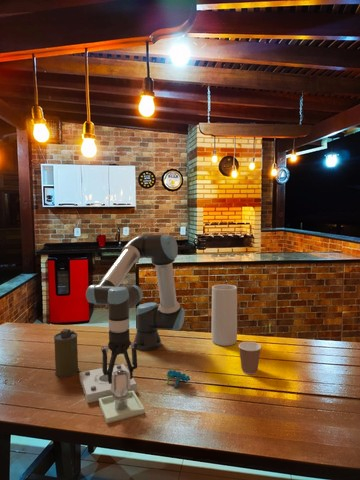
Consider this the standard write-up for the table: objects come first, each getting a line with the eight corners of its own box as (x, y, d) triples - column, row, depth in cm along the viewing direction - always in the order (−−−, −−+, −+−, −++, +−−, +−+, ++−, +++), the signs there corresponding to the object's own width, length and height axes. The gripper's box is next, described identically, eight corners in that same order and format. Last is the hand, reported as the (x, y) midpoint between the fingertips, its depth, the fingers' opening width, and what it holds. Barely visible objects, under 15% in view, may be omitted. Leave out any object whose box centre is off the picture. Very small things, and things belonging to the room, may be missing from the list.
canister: (71, 378, 153) (69, 334, 151) (50, 375, 155) (48, 333, 153) (83, 367, 164) (81, 326, 162) (63, 365, 166) (61, 325, 164)
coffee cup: (262, 368, 161) (263, 343, 160) (258, 378, 152) (258, 351, 151) (241, 364, 165) (241, 340, 164) (235, 373, 156) (235, 348, 155)
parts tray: (133, 395, 139) (133, 390, 138) (144, 413, 126) (144, 408, 126) (98, 403, 133) (98, 398, 133) (106, 423, 120) (106, 418, 120)
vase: (238, 346, 186) (239, 289, 183) (212, 346, 187) (212, 290, 184) (234, 336, 201) (235, 284, 198) (210, 336, 201) (210, 284, 198)
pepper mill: (126, 400, 133) (125, 366, 132) (131, 408, 128) (130, 372, 127) (111, 403, 131) (110, 369, 129) (115, 412, 125) (114, 376, 124)
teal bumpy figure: (194, 379, 147) (183, 369, 141) (190, 393, 144) (179, 384, 138) (173, 376, 154) (162, 367, 148) (169, 389, 150) (157, 380, 144)
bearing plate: (123, 370, 159) (123, 362, 159) (136, 391, 141) (136, 381, 141) (79, 380, 151) (79, 370, 151) (87, 403, 133) (87, 392, 132)
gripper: (139, 322, 134) (140, 379, 136) (92, 329, 126) (94, 389, 128) (145, 328, 127) (147, 388, 129) (96, 336, 119) (98, 399, 121)
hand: (120, 388), depth 129 cm, fingers open, 5 cm apart
